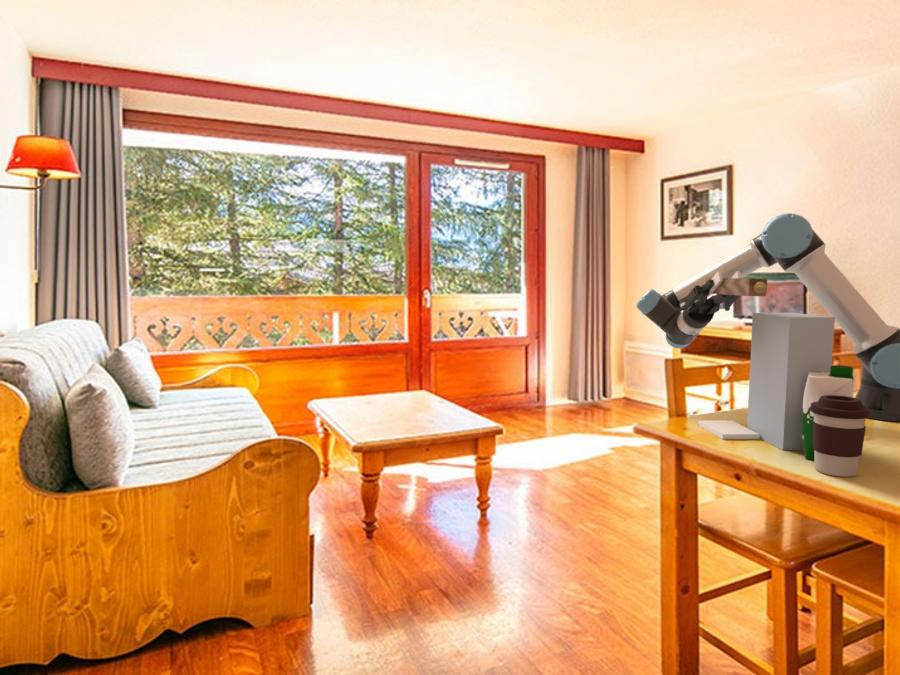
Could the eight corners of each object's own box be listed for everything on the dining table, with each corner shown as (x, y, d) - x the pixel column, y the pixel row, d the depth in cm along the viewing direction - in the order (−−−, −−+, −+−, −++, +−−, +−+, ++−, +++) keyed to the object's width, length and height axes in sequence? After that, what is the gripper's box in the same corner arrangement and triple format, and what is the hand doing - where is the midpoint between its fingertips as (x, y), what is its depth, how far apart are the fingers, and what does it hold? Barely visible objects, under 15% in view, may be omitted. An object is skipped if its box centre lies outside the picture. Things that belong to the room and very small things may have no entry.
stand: (826, 449, 138) (834, 317, 135) (782, 450, 137) (790, 317, 134) (786, 431, 153) (792, 312, 150) (746, 432, 153) (752, 312, 150)
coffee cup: (808, 475, 120) (812, 400, 119) (805, 461, 129) (809, 391, 127) (868, 483, 115) (874, 405, 114) (862, 468, 124) (867, 396, 123)
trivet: (759, 439, 147) (759, 434, 147) (722, 439, 146) (722, 434, 146) (731, 424, 161) (731, 420, 160) (697, 425, 160) (697, 420, 160)
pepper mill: (771, 296, 136) (772, 278, 135) (753, 296, 136) (754, 278, 135) (719, 293, 162) (720, 278, 161) (704, 293, 162) (705, 277, 161)
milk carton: (850, 466, 126) (856, 370, 124) (799, 459, 130) (805, 367, 128) (847, 455, 133) (853, 364, 131) (799, 449, 138) (805, 361, 136)
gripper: (727, 329, 171) (767, 289, 150) (667, 328, 171) (698, 288, 150) (723, 305, 175) (761, 262, 153) (663, 305, 175) (693, 262, 153)
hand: (729, 275), depth 152 cm, fingers closed on pepper mill, 4 cm apart
